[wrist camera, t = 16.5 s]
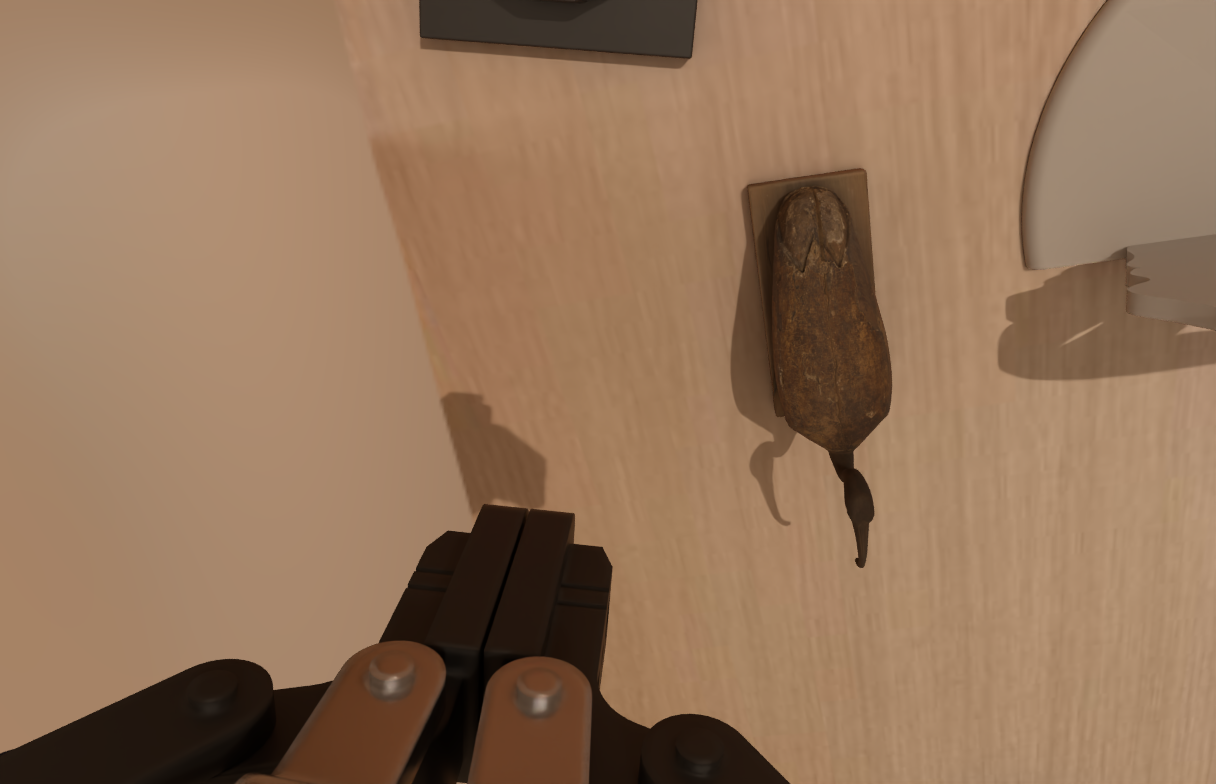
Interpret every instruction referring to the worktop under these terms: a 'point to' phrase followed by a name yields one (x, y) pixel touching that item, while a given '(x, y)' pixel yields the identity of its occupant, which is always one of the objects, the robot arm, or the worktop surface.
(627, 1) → the button base
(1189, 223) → the psi symbol sculpture
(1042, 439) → the worktop surface
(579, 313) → the worktop surface
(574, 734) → the robot arm
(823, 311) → the figurine
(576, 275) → the worktop surface
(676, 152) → the worktop surface
